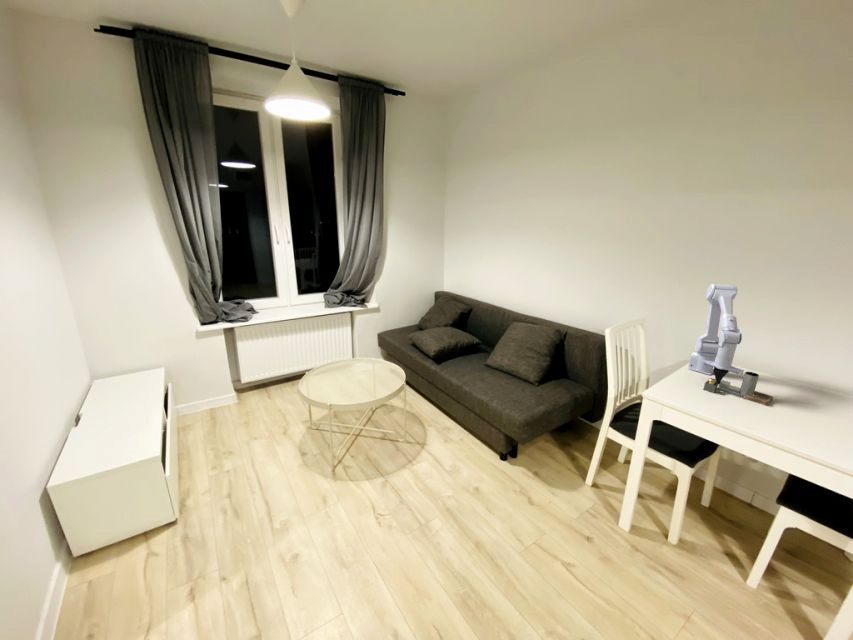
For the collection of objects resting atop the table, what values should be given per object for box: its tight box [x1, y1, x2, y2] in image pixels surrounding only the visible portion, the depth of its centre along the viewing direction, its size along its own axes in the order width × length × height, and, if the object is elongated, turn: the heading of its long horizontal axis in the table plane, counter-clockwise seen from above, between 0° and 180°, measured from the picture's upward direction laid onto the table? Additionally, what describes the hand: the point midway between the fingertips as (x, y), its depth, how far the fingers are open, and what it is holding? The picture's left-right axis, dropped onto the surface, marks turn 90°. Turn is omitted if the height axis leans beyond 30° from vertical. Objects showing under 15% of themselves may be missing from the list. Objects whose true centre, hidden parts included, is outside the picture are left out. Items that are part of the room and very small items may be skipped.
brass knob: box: [707, 377, 717, 385], centre depth 158 cm, size 3×3×5 cm
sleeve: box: [715, 382, 745, 399], centre depth 159 cm, size 14×8×1 cm, turn 37°
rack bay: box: [743, 390, 774, 407], centre depth 151 cm, size 7×8×2 cm
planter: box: [739, 371, 760, 398], centre depth 153 cm, size 4×4×10 cm
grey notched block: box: [718, 379, 741, 395], centre depth 158 cm, size 7×4×3 cm, turn 41°
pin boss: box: [703, 380, 719, 394], centre depth 158 cm, size 4×5×4 cm
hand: (717, 383), depth 162 cm, fingers closed
